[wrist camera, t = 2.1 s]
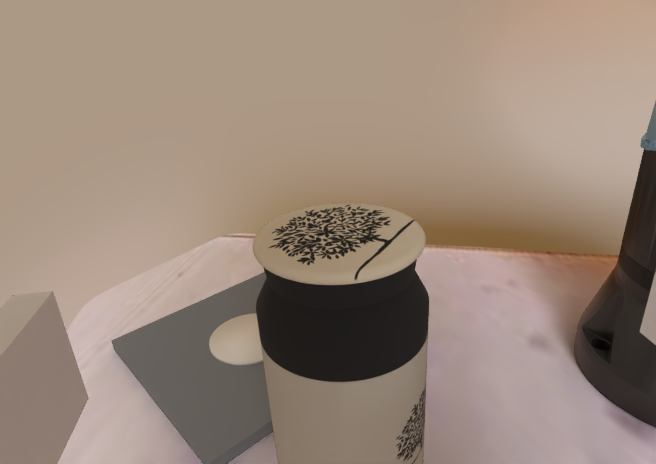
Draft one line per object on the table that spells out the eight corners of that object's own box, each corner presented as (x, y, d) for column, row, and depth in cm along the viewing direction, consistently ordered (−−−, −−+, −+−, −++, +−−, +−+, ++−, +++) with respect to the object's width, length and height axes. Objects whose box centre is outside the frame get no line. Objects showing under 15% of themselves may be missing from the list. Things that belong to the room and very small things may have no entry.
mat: (273, 276, 54) (272, 266, 53) (394, 346, 41) (394, 334, 41) (114, 349, 43) (110, 338, 43) (211, 473, 31) (208, 459, 30)
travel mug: (258, 517, 28) (208, 243, 20) (342, 431, 33) (327, 189, 26) (367, 615, 23) (355, 302, 15) (445, 495, 28) (464, 221, 21)
